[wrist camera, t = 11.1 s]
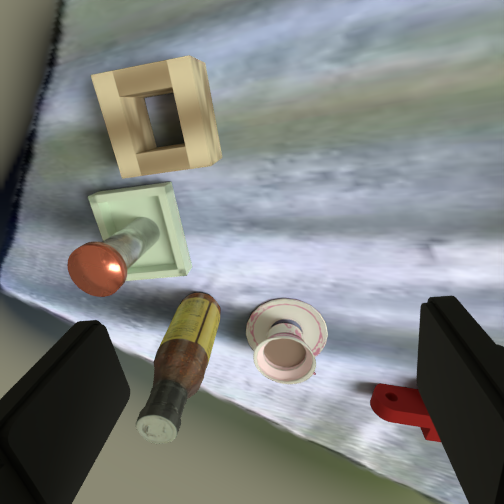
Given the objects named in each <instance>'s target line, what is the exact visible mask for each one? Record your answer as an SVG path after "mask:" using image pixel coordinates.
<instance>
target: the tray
mask: <svg viewBox="0 0 504 504" xmlns="http://www.w3.org/2000/svg"><path fill="white" fill-rule="evenodd" d="M88 199H89V202H90V205H91V208H92V210H93V213H94V216H95V219H96V222H97V225H98V227H99V230H100V233H101V236H102V239H103V241H104V240H106V239H107V238H109V237H110V236H112V235H113V234H115V233H116V232H118V231H119V230H121V229H122V228H124V227H125V226H127V225H128V224H130V223H131V222H133V221H134V220H136V219H137V218H140V217H146V218H149V219H151V220H153V221H154V222H155V223H156V224H157V226H158V228H159V231H160V237H159V240H158V241H157V242H156V243H155V244H154V245H153V246H152V247H151V248H150V249H149V250H148V251H147V252H146V253H145V254H144V255H142V256H141V257H140V258H139V259H138V260H137V261H136V262H135V263H134V264H133V265H132V266H131V267H130V268H129V269H128V270H127V278H126V281H131V280H143V279H154V278H165V277H177V276H187V275H188V273H189V271H190V270H191V268H192V264H191V260H190V256H189V252H188V248H187V244H186V240H185V235H184V231H183V227H182V223H181V219H180V215H179V211H178V207H177V203H176V199H175V195H174V191H173V187H172V183H171V182H165V183H158V184H150V185H143V186H136V187H128V188H121V189H113V190H106V191H99V192H97V193H94V194H92V195H90V196H88Z"/></svg>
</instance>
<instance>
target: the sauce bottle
mask: <svg viewBox="0 0 504 504" xmlns="http://www.w3.org/2000/svg"><path fill="white" fill-rule="evenodd" d="M219 322H220V306H219V305H218V303H217V302H216V300H215V299H213V297H211V296H210V295H208V294H204V293H192V294H190V295H188V296H186V297H185V298H184V299H183V300H182V302H181V304H180V305H179V307H178V309H177V311H176V313H175V315H174V317H173V319H172V321H171V323H170V326H169V328H168V330H167V332H166V334H165V336H164V338H163V340H162V342H161V344H160V346H159V349H158V351H157V353H156V357H155V360H154V367H155V370H154V381H153V388H152V390H151V394H150V397H149V399H148V401H147V403H146V406H145V407H144V408H143V409H142V410H141V412H140V414H139V417H138V419H137V422H136V428H137V431H138V432H139V434H140V435H141V436H142V437H143V438H144V439H145V440H147V441H149V442H152V443H159V444H160V443H169V442H171V441H172V440H174V439H175V438H176V436H177V433H178V431H179V428H180V425H181V419H180V418H181V415H182V412H183V409H184V405H185V404H186V402H187V399H188V398H190V397H191V396H192V395H194V394H195V393H196V392H197V391H198V390H199V388H200V385H201V383H202V381H203V379H204V374H205V370H206V368H207V366H208V362H209V358H210V355H211V351H212V347H213V344H214V340H215V336H216V333H217V329H218V325H219Z"/></svg>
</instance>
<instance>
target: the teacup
mask: <svg viewBox="0 0 504 504" xmlns="http://www.w3.org/2000/svg"><path fill="white" fill-rule="evenodd" d="M281 319H290V320H293V321H295V322H297V323H298V324H299V325H300V326H301V328H302V332H303V333H302V332H301V330H300V329H299V328H298V327H296V326H294V325H292V324H288V323H281V324H277V325H275V326H273V327H272V325H273V324H274V323H275V322H276V321H279V320H281ZM271 327H272V328H271ZM246 336H247V339H248V343H249V345H250V346H251V348H252V349H253V350H254V363H255V366H256V367H257V369H258V370H259V371H260V372H261V373H262V374H263V375H264V376H265V377H267V378H268V379H270V380H272V381H275V382H278V383H283V384H297V383H301V382H303V381H305V380H307V379H309V378H310V377H311V376H312V375H313V374H314V375H316V373H315V372H314V371H315V368H316V360H315V357H316V356H317V355H318V354H320V352H321V351H322V349H323V348H324V346H325V345H326V340H327V336H328V332H327V327H326V322H325V321H324V319H323V317H322V316H321V314H320V313H319V312H318V311H317V310H316V309H314V308H313V307H312V306H311V305H309V304H307V303H304V302H302V301H300V300H295V299H287V298H283V299H276V300H271V301H269V302H266V303H264V304H262V305H260V306H259V307H258V308H257V309H256V310H255V311H254V312H253V313H252V314H251V316H250V318H249V320H248V322H247V328H246Z"/></svg>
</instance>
